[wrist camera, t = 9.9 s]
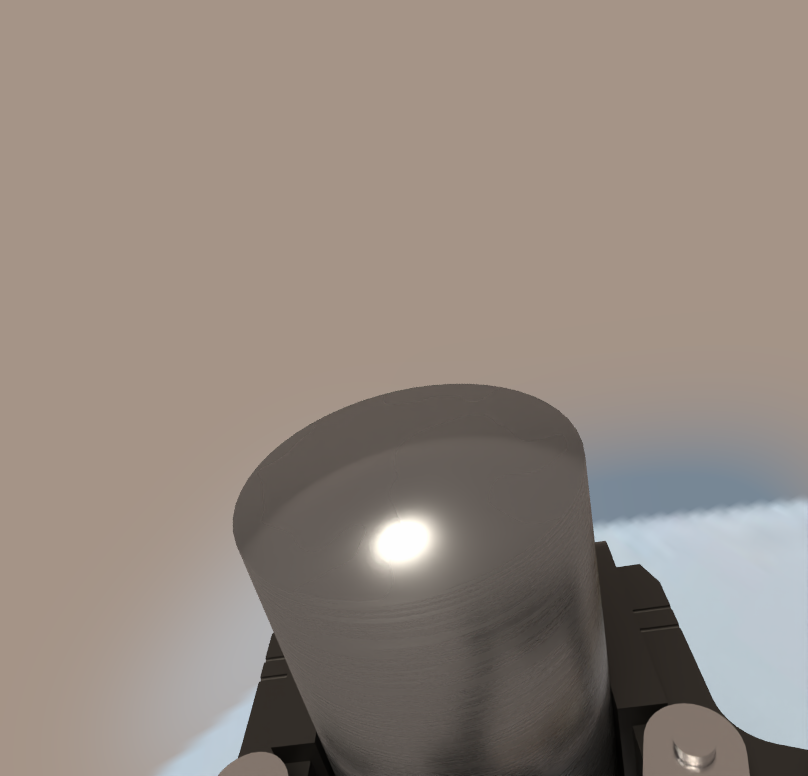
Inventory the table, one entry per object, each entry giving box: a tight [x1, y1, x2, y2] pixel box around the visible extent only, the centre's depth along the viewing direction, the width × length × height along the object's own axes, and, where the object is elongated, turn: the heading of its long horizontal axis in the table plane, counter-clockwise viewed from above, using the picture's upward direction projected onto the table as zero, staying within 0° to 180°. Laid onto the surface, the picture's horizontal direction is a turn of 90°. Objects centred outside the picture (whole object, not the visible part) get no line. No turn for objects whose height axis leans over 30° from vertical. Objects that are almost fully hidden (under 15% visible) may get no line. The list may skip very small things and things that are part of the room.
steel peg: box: [233, 384, 620, 776], centre depth 11 cm, size 4×4×12 cm
